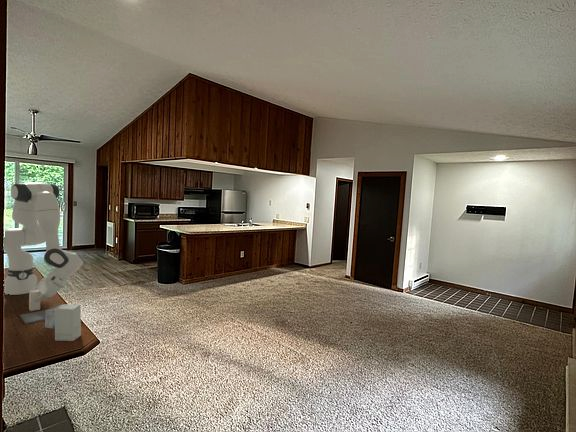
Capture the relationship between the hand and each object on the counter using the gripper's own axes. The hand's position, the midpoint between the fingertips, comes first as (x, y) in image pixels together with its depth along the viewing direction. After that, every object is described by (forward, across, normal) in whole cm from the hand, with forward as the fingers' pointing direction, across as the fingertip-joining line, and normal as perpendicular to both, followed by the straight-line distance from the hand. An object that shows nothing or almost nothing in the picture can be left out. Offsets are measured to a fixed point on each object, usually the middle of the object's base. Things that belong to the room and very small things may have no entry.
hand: (33, 299), depth 166 cm
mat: (+3, +13, +4) cm, 14 cm away
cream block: (+3, 0, +4) cm, 5 cm away
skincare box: (+1, +46, +6) cm, 46 cm away
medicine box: (+1, +28, +7) cm, 29 cm away
